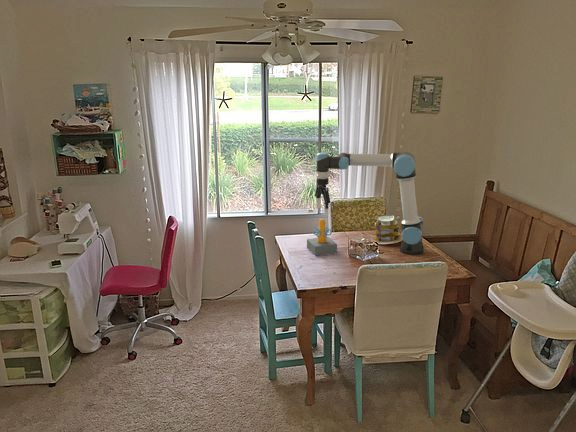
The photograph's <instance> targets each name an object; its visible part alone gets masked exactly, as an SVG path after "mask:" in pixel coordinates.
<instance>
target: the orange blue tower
mask: <svg viewBox="0 0 576 432" xmlns="http://www.w3.org/2000/svg"><path fill="white" fill-rule="evenodd" d="M318 221H319V222H318V227H316V228H314V229H312V234H313V235H314V236H316V238H317V241H318V242H319V243H326V242H327V237H328V236H331V235H332V232H333V231H332V230H331V229H330V228H328V227H327V226H326V218H319V219H318ZM315 231H316V233H315ZM328 231H330V232H329V233H328Z"/></svg>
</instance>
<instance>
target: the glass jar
mask: <svg viewBox="0 0 576 432" xmlns="http://www.w3.org/2000/svg"><path fill="white" fill-rule="evenodd" d="M398 225H399V221H398V220H396V219H395V215H381V216H378V217H377V219H376V221H375V223H374V228H375V235H374V236H372V237H374V239H375V240H376V241H377V243H378V244H377V245H388V244H389V245H390V244H396V243H399V242H402V240H403V238H402V233H400V227H399V226H398Z"/></svg>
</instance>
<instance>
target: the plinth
mask: <svg viewBox="0 0 576 432" xmlns="http://www.w3.org/2000/svg"><path fill="white" fill-rule="evenodd" d="M306 248H307V250H308V251H310V253H312V255H314V256H322V255H330V254H331V255H332V254H337V253H338V243H337V242H335V241H334V240H333V239H332V238H331V237H329V236H327V242H326V243H319V242H318V241H317V237H315V238H307V239H306Z"/></svg>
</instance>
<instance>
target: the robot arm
mask: <svg viewBox="0 0 576 432" xmlns="http://www.w3.org/2000/svg"><path fill="white" fill-rule="evenodd" d="M350 166H351V167H352V166H354V167H390V168H391V169H393V170H394V172H395V179H396V180H397V181H398V182H399V185H398V186H399V193H400V202H401V209H402V220H401V223H400V226H401V234H402V238H403V240H402V241H400V242H401V243H400V245H399V252H401V253H402V254H404V255H410V256H417V255H418V256H419V255H422V254H424V252H425V248H424V244H423V241H422V240H423V227H424V226H423V225H424V218H423V217H422V216H419V215H418V205H417V198H416V188H415V178H416V177H417V172H416V171H417V170H416V158H415V156H414V155H413V154H412V153H411V152H408V151H407V152H406V151H402V152H392V153H391V154H390V153H346V152H341V153H338V155H337V156H330V154H329V152H318V153H316V173H315V175H316V182H315V183H316V187H315V188H316V189H315V193H314V197H315V198H316V199H315V205H316V206H315V209H321V205H322V204H321V202H322V200H321V198H322V197H323V202H324V203H323V213H324V215H328V214H330V213H329V210H330V209H329V207H330V204H331V198H330V193H329V187H327V186H328V185H329V184H330V183H329V177H330V170H331V169H332V170H347V169H348V168H349V167H350ZM321 196H322V197H321Z"/></svg>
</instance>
